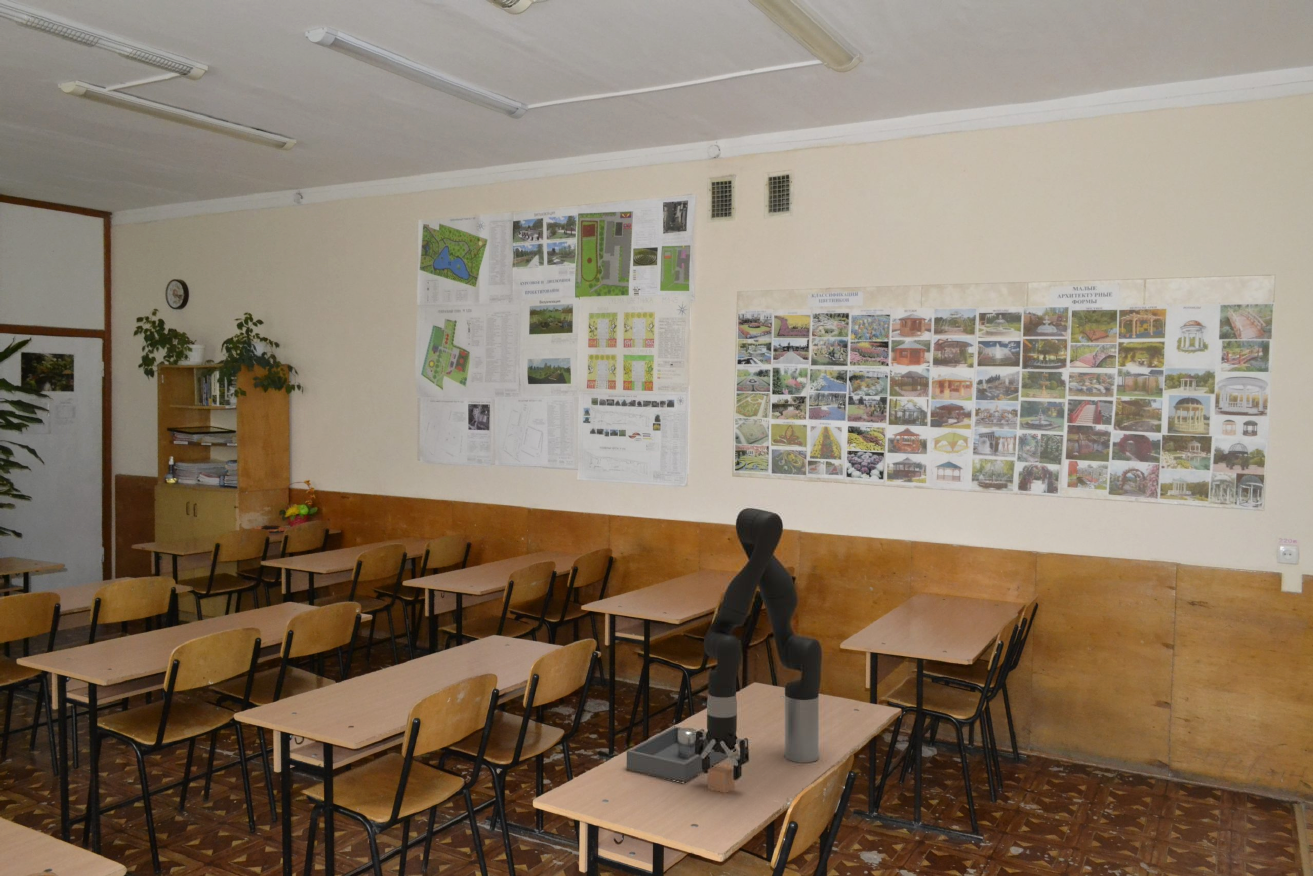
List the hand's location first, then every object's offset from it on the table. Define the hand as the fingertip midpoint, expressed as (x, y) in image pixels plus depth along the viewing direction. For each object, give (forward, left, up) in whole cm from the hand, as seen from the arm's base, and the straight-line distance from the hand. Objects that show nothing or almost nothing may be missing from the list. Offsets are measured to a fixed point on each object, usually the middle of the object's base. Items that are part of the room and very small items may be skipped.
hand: (721, 775), depth 238 cm
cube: (0, 0, -3) cm, 3 cm away
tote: (-9, -18, -3) cm, 21 cm away
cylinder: (-13, -18, -3) cm, 23 cm away
